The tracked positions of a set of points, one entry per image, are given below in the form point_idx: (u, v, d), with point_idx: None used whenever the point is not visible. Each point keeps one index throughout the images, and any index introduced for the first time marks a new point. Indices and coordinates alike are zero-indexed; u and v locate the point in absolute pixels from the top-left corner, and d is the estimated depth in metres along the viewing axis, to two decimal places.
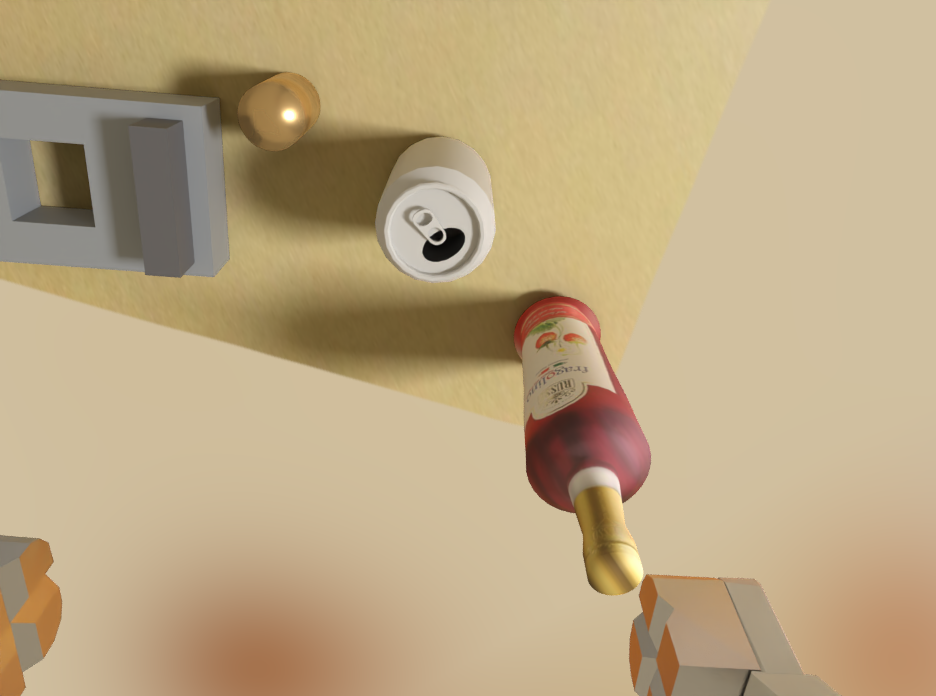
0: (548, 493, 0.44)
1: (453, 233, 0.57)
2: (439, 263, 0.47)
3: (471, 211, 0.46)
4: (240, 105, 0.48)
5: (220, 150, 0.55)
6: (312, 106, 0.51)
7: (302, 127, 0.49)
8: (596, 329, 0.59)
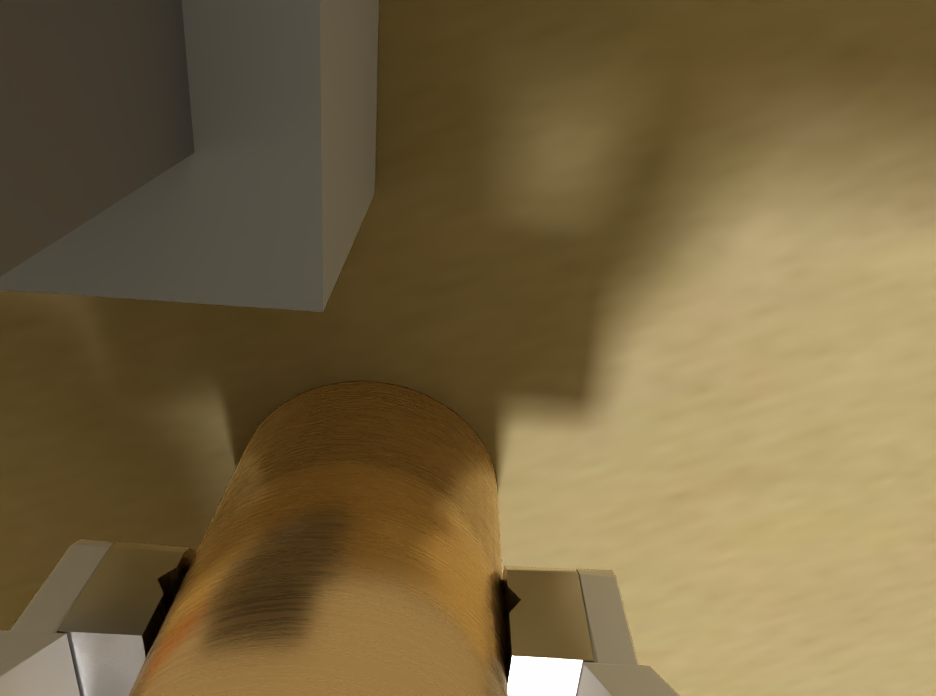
0: None
1: None
2: None
3: None
4: None
5: None
6: None
7: None
8: None
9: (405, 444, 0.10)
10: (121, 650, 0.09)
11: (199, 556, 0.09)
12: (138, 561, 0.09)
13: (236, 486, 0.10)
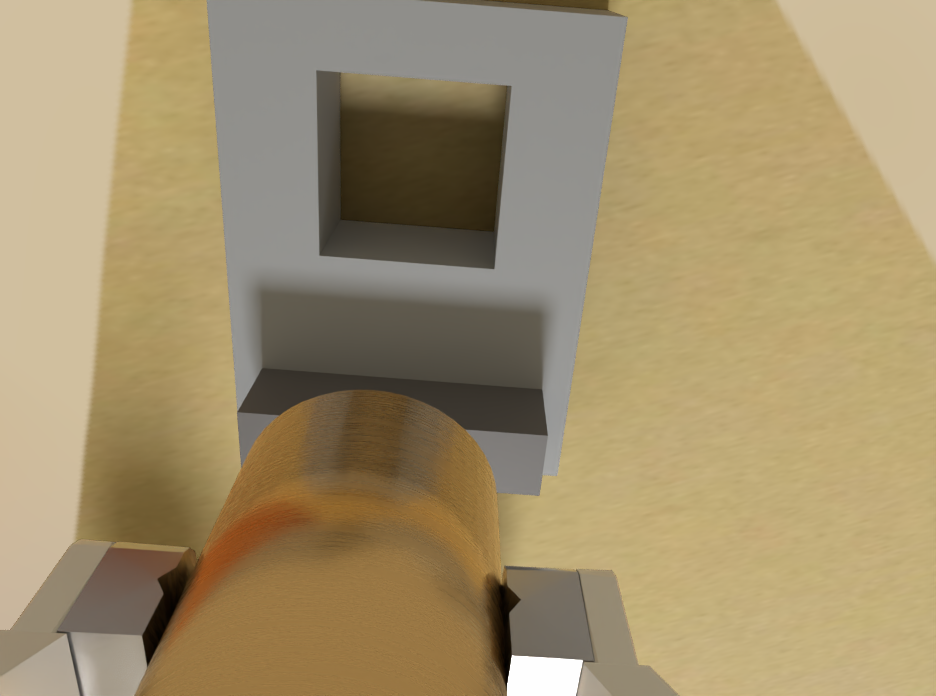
0: None
1: None
2: None
3: None
4: None
5: None
6: None
7: None
8: None
9: (406, 452, 0.10)
10: (121, 650, 0.09)
11: (201, 564, 0.09)
12: (138, 561, 0.09)
13: (238, 494, 0.10)
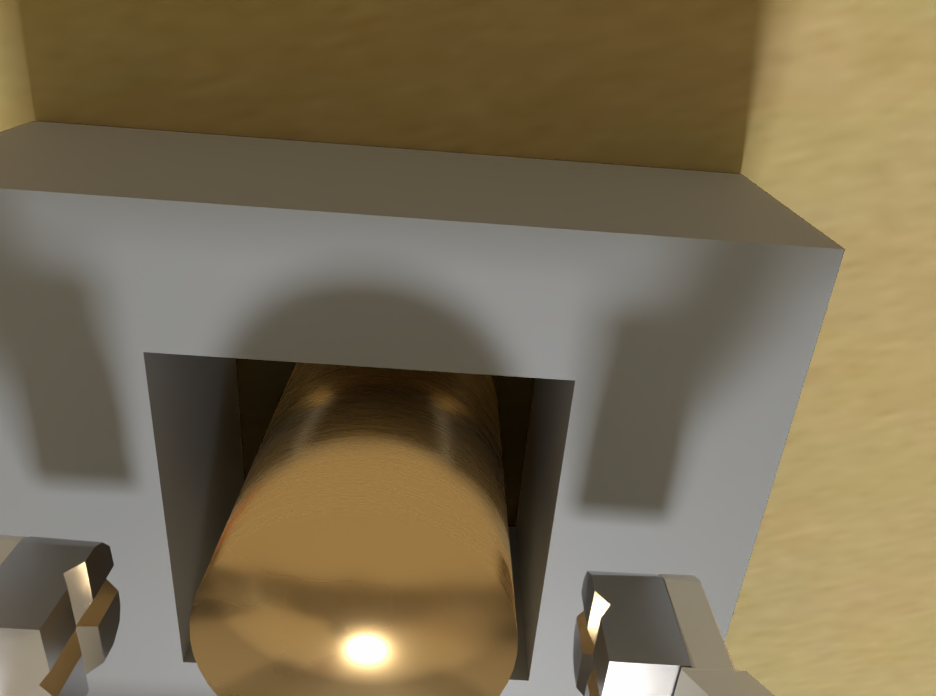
0: None
1: None
2: None
3: None
4: (407, 532, 0.09)
5: None
6: None
7: None
8: None
9: None
10: (20, 644, 0.09)
11: (270, 432, 0.12)
12: (47, 556, 0.09)
13: (293, 387, 0.13)
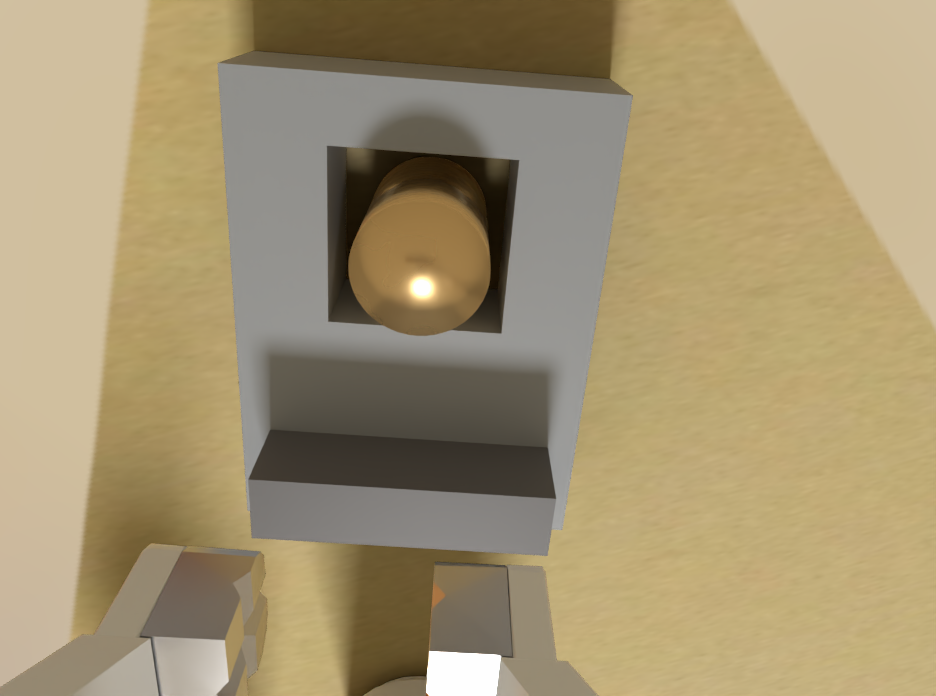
0: None
1: None
2: None
3: None
4: (443, 210, 0.22)
5: None
6: None
7: (401, 331, 0.23)
8: None
9: (449, 170, 0.26)
10: (203, 655, 0.09)
11: (374, 199, 0.24)
12: (212, 565, 0.10)
13: (382, 186, 0.25)
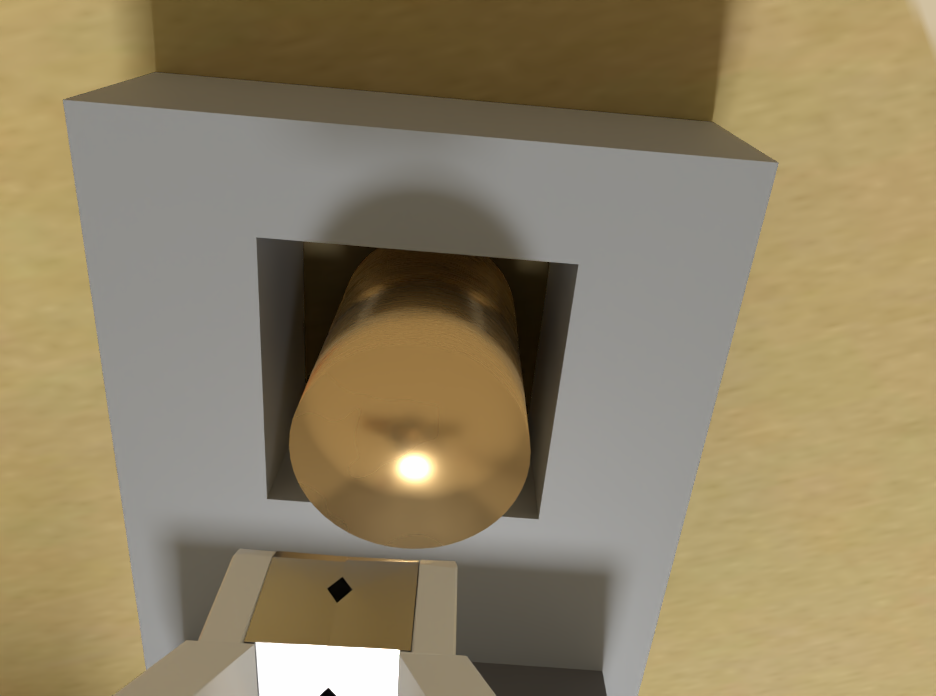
0: None
1: None
2: None
3: None
4: (453, 361, 0.12)
5: None
6: None
7: (380, 540, 0.14)
8: None
9: (461, 262, 0.16)
10: (305, 660, 0.09)
11: (340, 313, 0.15)
12: (304, 571, 0.10)
13: (355, 285, 0.16)
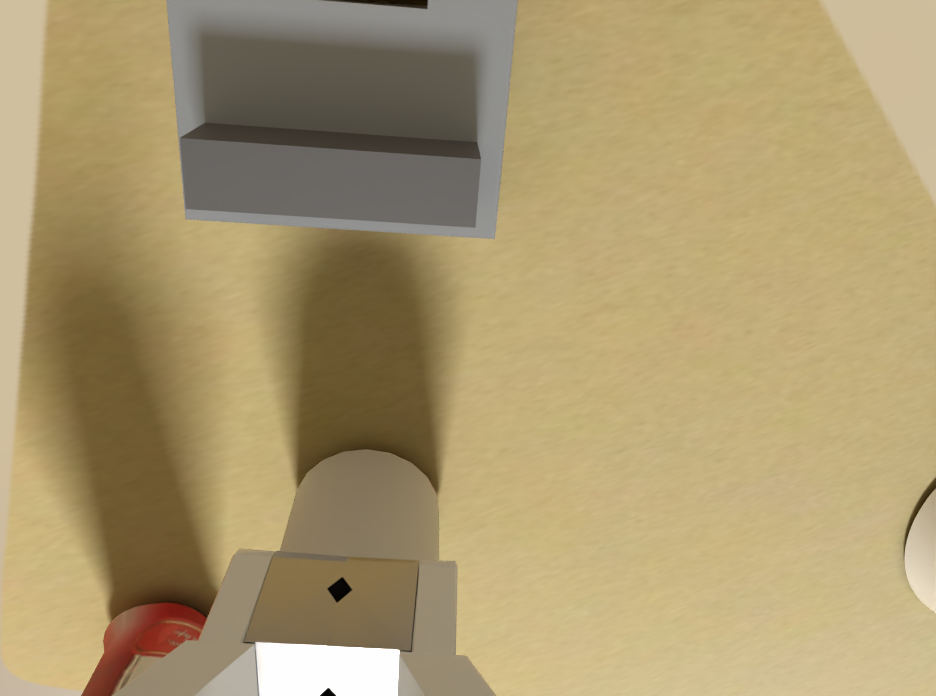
0: None
1: None
2: None
3: None
4: None
5: None
6: None
7: None
8: None
9: None
10: (305, 660, 0.09)
11: None
12: (304, 571, 0.10)
13: None
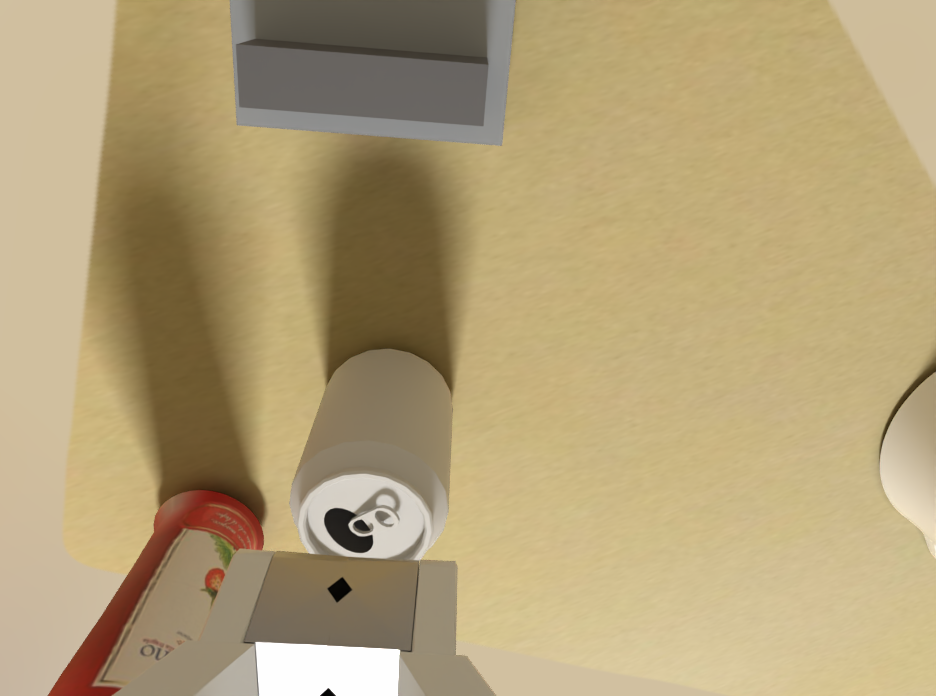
0: None
1: None
2: (322, 526, 0.35)
3: None
4: None
5: None
6: None
7: None
8: None
9: None
10: (305, 660, 0.09)
11: None
12: (304, 571, 0.10)
13: None
